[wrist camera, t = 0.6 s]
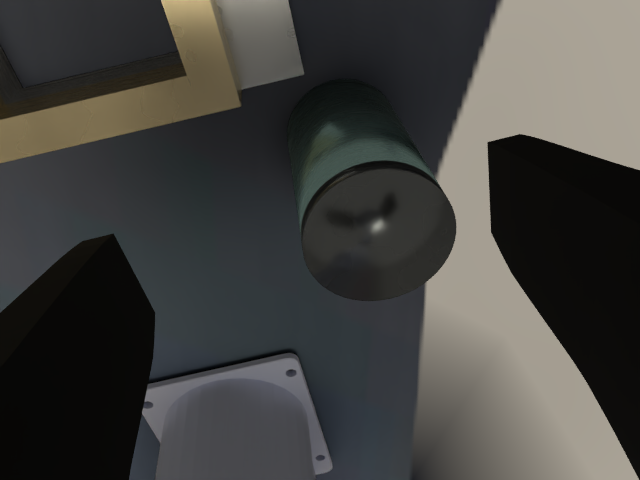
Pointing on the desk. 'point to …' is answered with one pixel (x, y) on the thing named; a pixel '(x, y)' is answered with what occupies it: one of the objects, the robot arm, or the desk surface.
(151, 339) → the robot arm
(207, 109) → the upper end link
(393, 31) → the desk surface
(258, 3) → the lower end link
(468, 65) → the desk surface
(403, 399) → the desk surface
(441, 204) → the teal cylinder
